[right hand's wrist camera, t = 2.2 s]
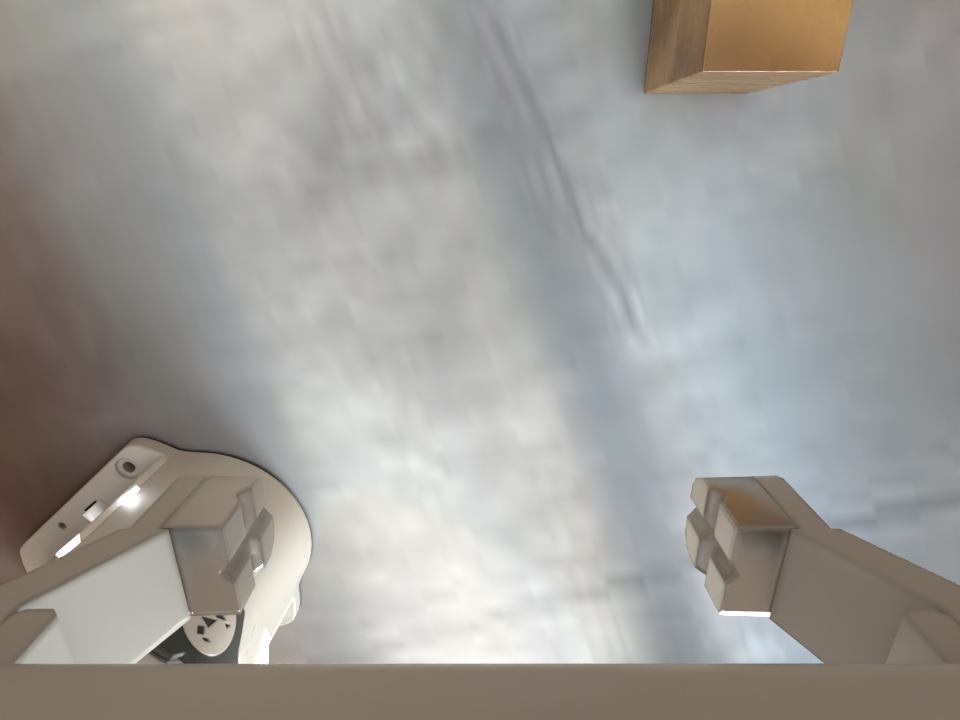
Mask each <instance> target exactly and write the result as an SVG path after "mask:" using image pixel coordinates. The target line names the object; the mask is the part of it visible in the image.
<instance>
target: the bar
mask: <svg viewBox="0 0 960 720" xmlns="http://www.w3.org/2000/svg"><path fill="white" fill-rule="evenodd" d="M852 4H853V0H653V10H652V20H651V30H650V40H649V51H648V61H647V71H646V81H645V91H644V93H645V94H745V93H750V92H754V91H758V90H763V89H767V88H771V87H776V86H780V85H784V84H788V83H793V82H797V81H801V80H806V79H810V78H814V77H819V76H823V75H827V74H831V73H836V72H838V70H839V65H840V60H841V56H842V51H843V46H844V41H845V37H846V32H847V27H848V23H849V18H850V13H851V9H852Z"/></svg>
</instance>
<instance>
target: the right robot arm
mask: <svg viewBox="0 0 960 720" xmlns="http://www.w3.org/2000/svg"><path fill="white" fill-rule="evenodd" d="M129 462H131V463H132V464H134V466H135V467H134V466H132V465H131V464H130V463H129ZM690 497H691V499H692V500H693V502H694V504H695V505H696V508H695V509H694V510H693V511H692V512H691V513H690V514H689V515H688V516H687V521H686V529H685V535H686V546H687V549H688V553H689V556H690V559H691V561H692V563H693V565H694V567H695V568H696V569H698V570H699V571H701V572H702V573H704V574H705V575H706V580H705V585H704V586H705V588H706V590H707V591H708V593H709V595H710V597H711V599H712V601H713V603H714V605H715V606H716V608H717V610H718V612H719V614H720V615H747V616H770V617H769V619H771V620H772V621H773V622H774V623H776V624H777V625H778V626H779V627H780V628H782V629H783V630H784V631H785V632H787V633H788V634H789V635H790V636H792V637H793V638H794V639H795V640H796V641H798V642H799V643H800V644H801V645H803V646H804V647H805V648H806V649H808V650H809V651H810V652H811V653H812V654H814V655H815V656H816V657H817V658H819V659H820V660H821V661H822V662H823V663H825V664H268V645H269V643H270V641H271V639H272V637H273V635H274V633H275V632H276V630H277V628H278V626H281V625H284V624H287V623H290V622H291V621H292V620H293V619H294V617H295V615H296V614H297V612H298V610H299V607H300V591H299V583H300V580H301V578H302V576H303V574H304V572H305V569H306V567H307V565H308V562H309V559H310V555H311V548H312V538H311V531H310V527H309V523H308V521H307V518H306V516H305V514H304V511H303V510H302V508H301V506H300V505H299V503H298V502H297V500H296V499H295V498H294V496H293V495H292V494H291V493H290V492H289V491H288V490H287V489H286V488H285V487H284V486H283V485H282V484H281V483H280V482H279V481H278V480H276V479H275V478H274V477H272V476H271V475H270V474H268V473H267V472H265V471H263V470H262V469H260V468H258V467H256V466H254V465H252V464H250V463H247V462H245V461H242V460H240V459H237V458H233V457H230V456H226V455H221V454H215V453H204V452H189V451H182V450H178V449H175V448H173V447H171V446H168V445H166V444H163V443H161V442H158V441H155V440H152V439H149V438H142V437H140V438H135V439H133V440H131V441H130V442H129V443H128V444H127V445H126V446H125V447H124V448H123V449H121V450H120V451H119V452H118V453H117V454H116V455H115V456H114V457H113V458H112V459H111V460H110V461H109V462H108V463H107V464H106V465H105V466H104V467H103V468H102V469H101V470H100V471H99V472H97V473H96V474H95V475H94V476H93V477H92V478H91V479H90V480H89V481H88V482H87V483H86V484H85V485H84V486H83V487H82V488H81V489H80V490H79V491H78V492H77V493H76V494H75V495H73V496H72V497H71V498H70V499H69V500H68V501H67V502H66V503H65V504H64V505H63V506H62V507H61V508H60V509H59V510H58V511H57V512H56V513H55V514H54V515H53V516H52V517H51V518H50V519H48V520H47V521H46V522H45V523H44V524H43V525H42V526H41V527H40V528H39V529H38V530H37V531H36V532H35V533H34V534H33V535H32V536H31V537H30V538H29V539H28V540H27V541H26V542H25V543H24V544H23V546H22V547H21V549H20V556H21V559H22V562H23V565H24V567H25V569H26V571H27V573H26V574H23V575H21V576H19V577H17V578H15V579H13V580H11V581H9V582H7V583H4V584H2V585H0V720H960V585H957V584H955V583H953V582H951V581H949V580H947V579H945V578H943V577H940V576H938V575H936V574H934V573H932V572H930V571H928V570H926V569H924V568H921V567H919V566H917V565H915V564H913V563H911V562H909V561H907V560H905V559H902V558H900V557H898V556H896V555H894V554H892V553H890V552H888V551H886V550H883V549H881V548H879V547H877V546H875V545H873V544H871V543H869V542H866V541H864V540H862V539H860V538H858V537H856V536H854V535H852V534H850V533H847V532H845V531H843V530H841V529H831V528H830V527H829V526H828V525H827V524H826V523H825V522H824V521H823V520H822V519H821V518H820V517H819V516H818V515H817V514H816V512H815V511H814V510H813V509H812V508H811V507H810V506H809V505H808V504H807V503H806V502H805V501H804V500H803V499H802V498H801V497H800V496H799V495H798V494H797V492H796V491H795V490H794V489H793V488H792V487H791V486H790V485H789V484H788V483H787V482H786V481H785V480H784V479H783V478H781V477H779V476H776V475H775V476H750V477H715V478H696V479H695V481H694V483H693V485H692V491H691V496H690ZM258 663H259V664H258Z"/></svg>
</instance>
